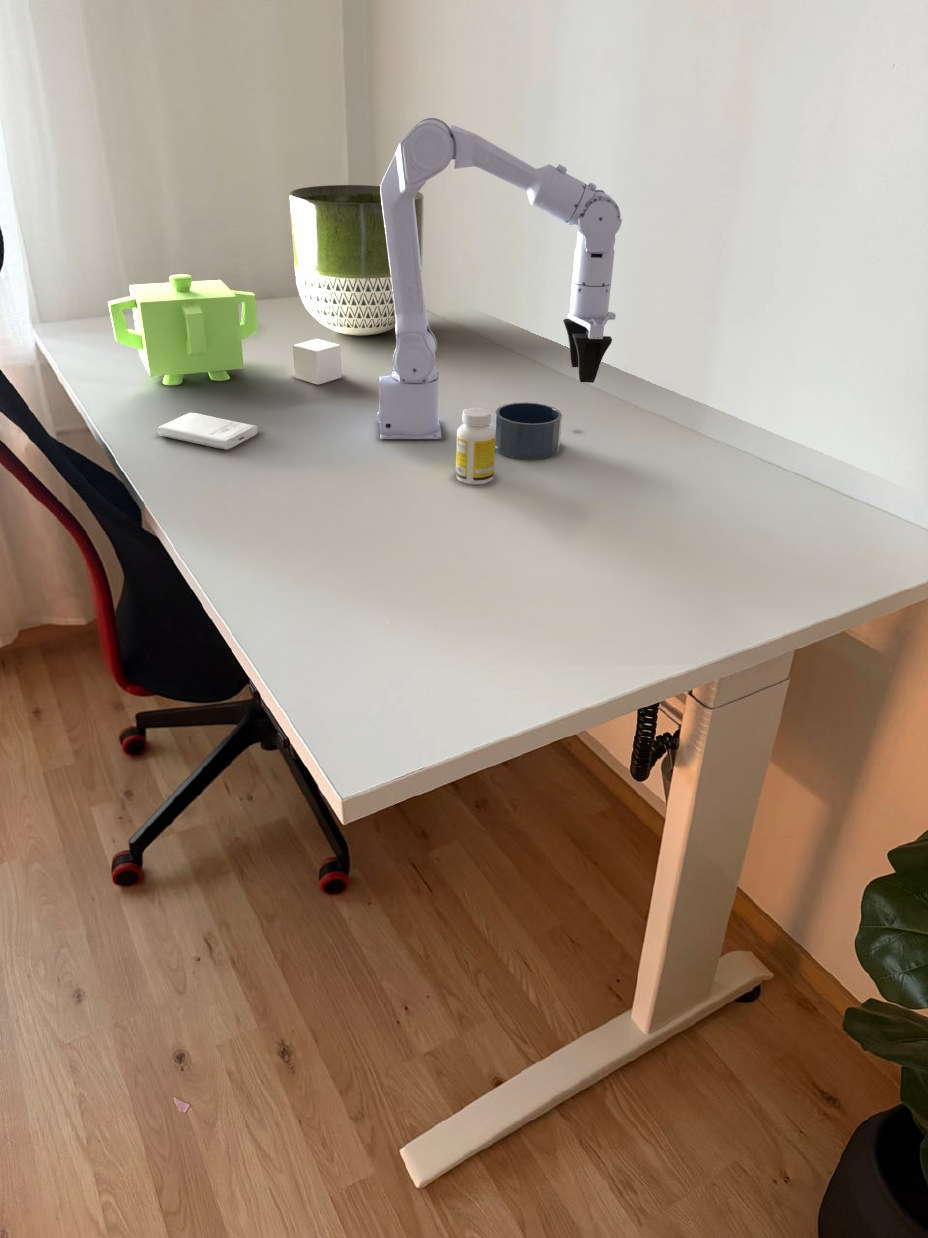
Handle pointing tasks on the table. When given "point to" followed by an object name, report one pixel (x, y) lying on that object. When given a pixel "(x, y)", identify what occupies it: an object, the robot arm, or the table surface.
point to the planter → (345, 256)
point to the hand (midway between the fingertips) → (582, 374)
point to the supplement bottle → (475, 447)
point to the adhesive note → (317, 361)
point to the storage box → (186, 327)
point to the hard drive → (208, 431)
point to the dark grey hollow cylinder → (527, 430)
